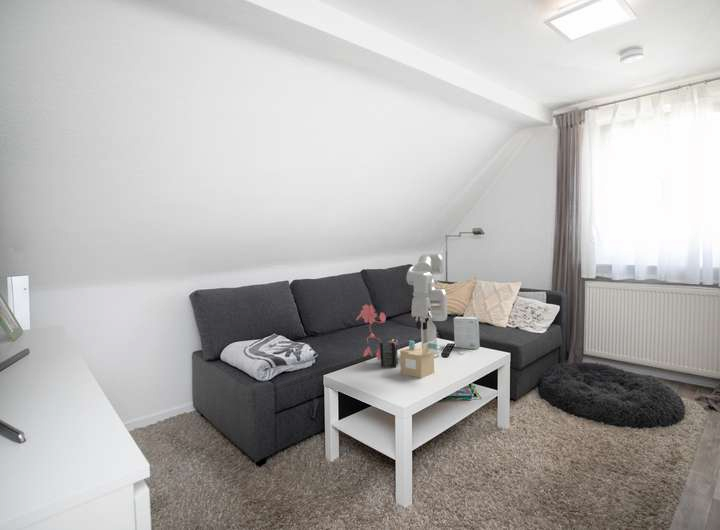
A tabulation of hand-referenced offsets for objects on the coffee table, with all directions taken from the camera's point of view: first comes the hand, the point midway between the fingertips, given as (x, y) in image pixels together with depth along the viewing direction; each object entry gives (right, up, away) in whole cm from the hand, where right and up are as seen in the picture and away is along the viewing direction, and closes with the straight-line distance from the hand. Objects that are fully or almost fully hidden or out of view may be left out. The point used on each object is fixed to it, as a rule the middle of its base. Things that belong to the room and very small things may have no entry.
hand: (422, 328), depth 224 cm
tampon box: (-16, -25, +21) cm, 36 cm away
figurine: (-28, -25, +34) cm, 50 cm away
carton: (-2, -25, +4) cm, 26 cm away
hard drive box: (+38, -21, +54) cm, 70 cm away
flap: (+3, -10, -2) cm, 11 cm away
